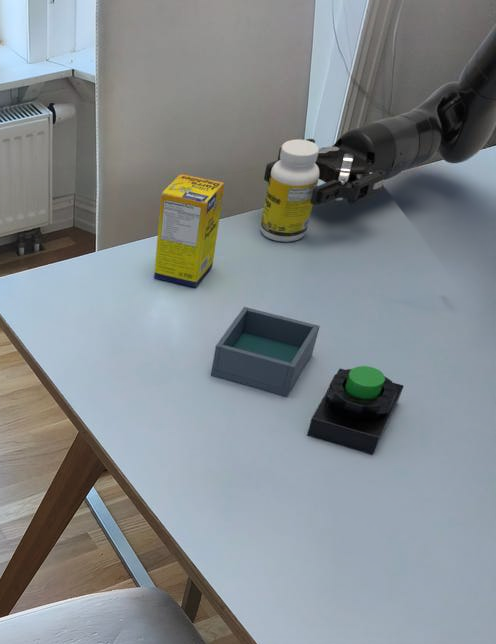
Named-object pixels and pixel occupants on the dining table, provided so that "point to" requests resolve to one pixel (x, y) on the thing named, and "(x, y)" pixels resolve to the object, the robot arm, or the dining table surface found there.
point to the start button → (364, 382)
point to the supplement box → (188, 229)
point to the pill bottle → (290, 191)
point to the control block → (354, 415)
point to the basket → (264, 351)
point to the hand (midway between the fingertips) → (289, 185)
